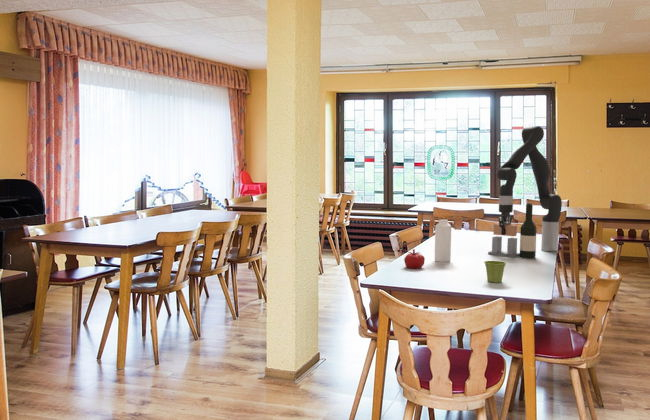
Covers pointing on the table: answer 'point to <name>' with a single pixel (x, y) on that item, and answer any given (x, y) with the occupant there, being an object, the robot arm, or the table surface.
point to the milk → (443, 241)
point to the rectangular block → (510, 230)
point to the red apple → (414, 260)
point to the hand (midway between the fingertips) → (504, 234)
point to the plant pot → (494, 270)
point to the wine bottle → (528, 235)
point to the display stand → (498, 246)
